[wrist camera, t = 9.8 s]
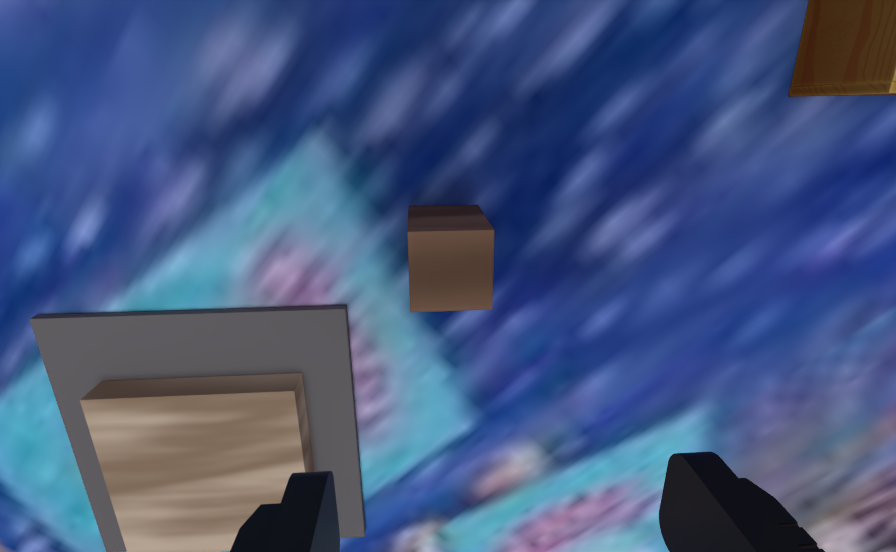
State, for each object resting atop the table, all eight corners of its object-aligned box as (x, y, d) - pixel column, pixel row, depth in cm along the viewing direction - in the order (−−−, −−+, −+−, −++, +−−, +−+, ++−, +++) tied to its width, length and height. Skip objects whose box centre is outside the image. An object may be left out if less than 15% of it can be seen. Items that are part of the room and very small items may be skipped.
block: (408, 206, 27) (407, 231, 22) (477, 204, 27) (494, 229, 22) (410, 272, 29) (410, 312, 23) (476, 270, 29) (492, 309, 23)
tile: (79, 400, 27) (128, 556, 31) (294, 391, 28) (314, 545, 32) (102, 380, 29) (145, 530, 33) (301, 372, 30) (320, 520, 34)
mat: (37, 314, 28) (29, 319, 27) (346, 305, 29) (345, 309, 28) (111, 545, 34) (106, 552, 33) (365, 529, 35) (364, 536, 34)
